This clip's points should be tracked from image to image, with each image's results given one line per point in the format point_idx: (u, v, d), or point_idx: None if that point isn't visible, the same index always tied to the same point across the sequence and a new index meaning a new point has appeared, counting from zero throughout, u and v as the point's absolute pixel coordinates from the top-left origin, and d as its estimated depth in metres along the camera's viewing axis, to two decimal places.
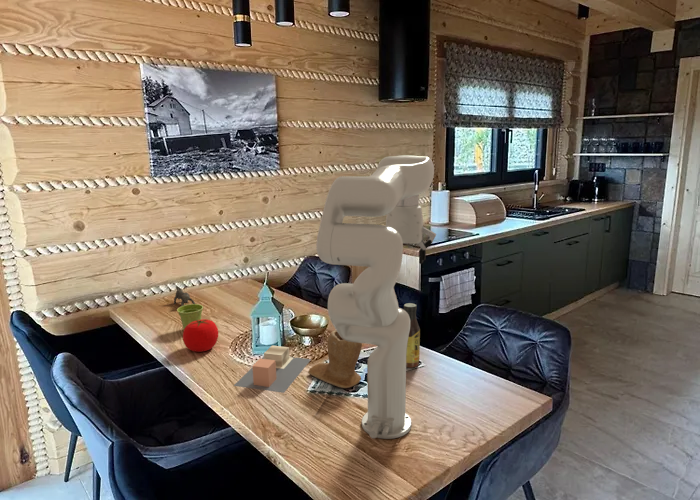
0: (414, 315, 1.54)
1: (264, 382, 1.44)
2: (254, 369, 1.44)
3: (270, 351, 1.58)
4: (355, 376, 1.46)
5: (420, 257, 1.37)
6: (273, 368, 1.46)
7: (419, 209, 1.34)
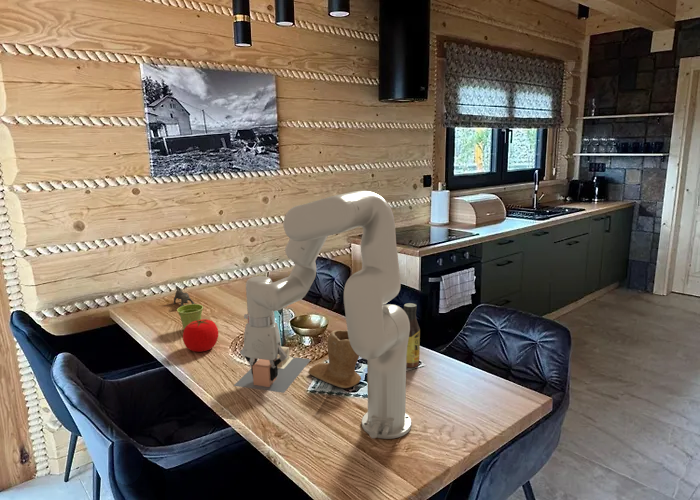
0: (414, 315, 1.54)
1: (264, 382, 1.44)
2: (254, 369, 1.44)
3: None
4: (355, 376, 1.46)
5: (270, 375, 1.44)
6: None
7: (273, 329, 1.40)
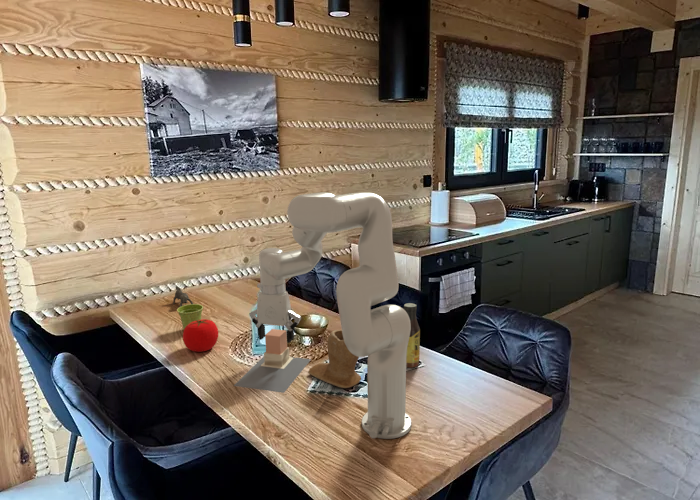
0: (414, 315, 1.54)
1: (276, 350, 1.56)
2: (266, 338, 1.56)
3: None
4: (355, 376, 1.46)
5: (287, 337, 1.55)
6: (284, 337, 1.58)
7: (284, 296, 1.51)
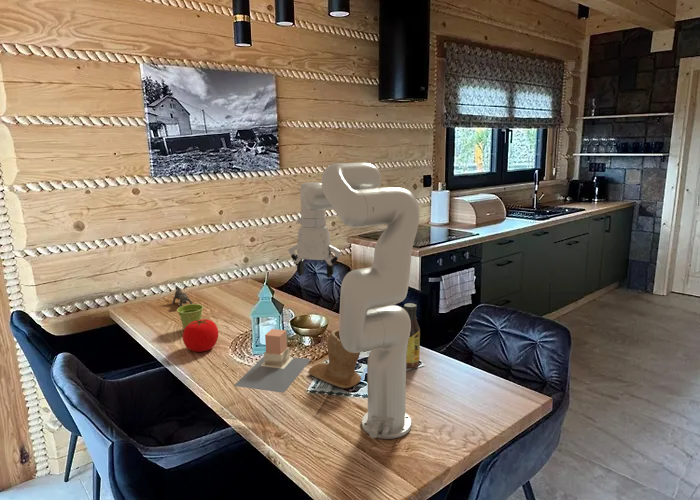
0: (414, 315, 1.54)
1: (276, 350, 1.56)
2: (266, 338, 1.56)
3: None
4: (355, 376, 1.46)
5: (327, 272, 1.54)
6: (284, 337, 1.58)
7: (325, 230, 1.51)
